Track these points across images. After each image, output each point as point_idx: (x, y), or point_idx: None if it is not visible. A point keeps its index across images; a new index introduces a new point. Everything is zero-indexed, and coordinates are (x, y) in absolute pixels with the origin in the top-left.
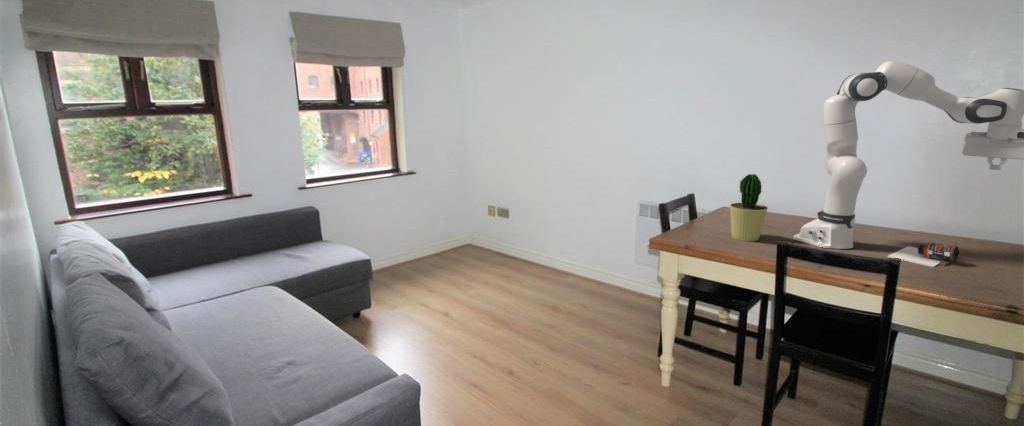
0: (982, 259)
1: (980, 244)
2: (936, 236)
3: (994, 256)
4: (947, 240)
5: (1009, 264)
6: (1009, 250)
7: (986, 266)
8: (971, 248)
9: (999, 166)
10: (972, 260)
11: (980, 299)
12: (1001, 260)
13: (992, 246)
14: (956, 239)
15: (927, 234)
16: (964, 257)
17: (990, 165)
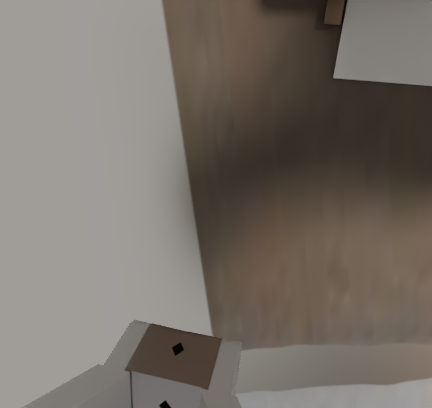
0: (254, 112)
1: (279, 297)
2: (392, 319)
3: (233, 180)
4: (360, 288)
5: (191, 110)
6: (215, 278)
7: (234, 20)
8: (294, 233)
9: (119, 355)
10: (276, 70)
11: None
12: (213, 144)
13: (252, 294)
14: (338, 316)
15: (418, 328)
16: (300, 93)
17: (224, 383)
